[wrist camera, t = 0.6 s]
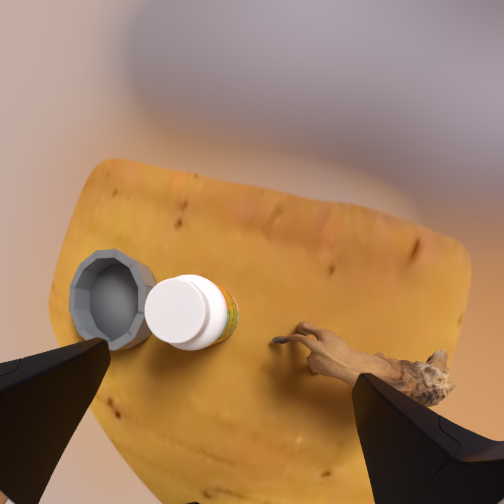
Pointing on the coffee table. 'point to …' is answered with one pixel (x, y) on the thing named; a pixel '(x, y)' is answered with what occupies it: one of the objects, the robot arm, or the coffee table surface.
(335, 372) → the lion figurine
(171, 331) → the supplement bottle
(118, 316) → the grey faceted bowl
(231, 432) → the coffee table surface
